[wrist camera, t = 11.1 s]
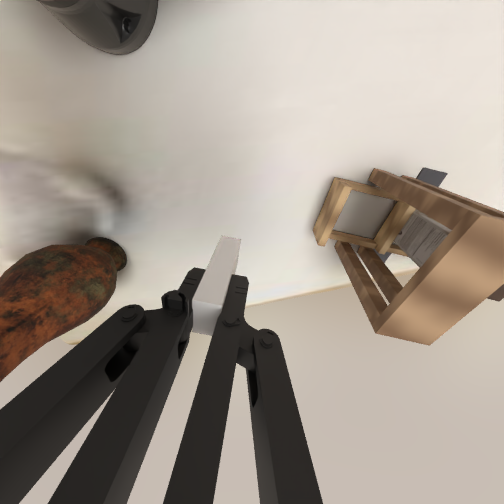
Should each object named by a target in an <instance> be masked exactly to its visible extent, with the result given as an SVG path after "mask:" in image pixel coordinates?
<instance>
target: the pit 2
mask: <svg viewBox="0 0 504 504" xmlns="http://www.w3.org/2000/svg"><path fill="white" fill-rule="evenodd" d="M447 174H448V173H444V172H440V171H436V170H432V169H427V168H423V169H422V170H421V172H420V174H419V175H418V177H417V178H416V179H418V180H421V181H423V182H426V183H428V184H431V185H434V186H436V187H438V186H439V185H440V184H441V182H442V181H443V179H444V178H445V177H446V175H447Z"/></svg>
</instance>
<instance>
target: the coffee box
mask: <svg viewBox="0 0 504 504" xmlns="http://www.w3.org/2000/svg"><path fill="white" fill-rule="evenodd" d="M451 231H452V230H450V229H449V228H447V227H445V226H444V225H442V224H440V223H439V222H437V221H435V220H434V219H432V218H430V217H429V216H427V215H425V214H424V213H422V212H420V211H419V210H417V209H415V211H414V212H413V214H412V215H411V217H410V218H409V219H408V221H407V222H406V224H405V225H404V227H403V228H402V230H401V231H400V233H399V234H398V235H397V237H396V238H395V240H394V242H395V243H396V244H397V245H398V246H399V247H400V248H401V249H402V250H403V251H404V252H405V253H406V254H407V255H408V256H409V257H410V258H411V259H412V260H413V261H414V262H415V263H416V264H417V265H418V266H419V267H421V266H422V265H423V264H424V263H425V262H426V260H427V259H428V258H429V257H430V256H431V254H432V253H433V252H434V251H435V250H436V249H437V247H438V246H439V245H440V244H441V243H442V241H443V240H444V239H445V238H446V237H447V236H448V234H449V233H450V232H451ZM487 298H488V299H491V300H495V301H500V300H502V299H503V298H504V284H503V285H502V286H501V287H499V288H498V289H497V290H496V291H495V292H493V293H492V294H491V295H490V296H489V297H487Z"/></svg>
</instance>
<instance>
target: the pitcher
mask: <svg viewBox="0 0 504 504" xmlns="http://www.w3.org/2000/svg"><path fill="white" fill-rule="evenodd" d="M126 261H127V258H126V254H125V252H124V250H123V249H122V248H121V247H120V246H119V245H118V244H117V243H115V242H113V241H111V240H109V239H106V238H101V237H98V238H93V239H91V240H89V241H88V242H87V243H86V244H85V246H84V245H50V246H47V247H44V248H42V249H39V250H37V251H34V252H31V253H29V254H26V255H25V256H24V257H22V258H21V259H20V260H19V261H17V262H16V263H15V264H14V265H12V266H11V267H10V268H9V269H8V270H6V271H5V272H4V273H3V275H2V276H1V277H0V382H1V381H2V380H3V379H4V378H5V377H6V376H7V375H8V374H9V373H10V372H11V371H13V370H14V369H15V368H16V367H17V366H18V365H19V364H20V363H21V362H22V361H24V360H25V359H26V358H27V357H29V356H30V355H31V354H33V353H34V352H35V351H37V350H38V349H39V348H40V347H42V346H43V345H44V344H46V343H47V342H49V341H51V340H53V339H54V338H56V337H59V336H60V335H62V334H64V333H66V332H68V331H70V330H72V329H74V328H75V327H77V326H79V325H81V324H83V323H85V322H86V321H88V320H89V319H91V318H92V317H93V316H94V315H95V314H97V313H98V312H99V311H100V310H102V308H103V307H104V306H105V305H106V304H107V302H108V301H109V299H110V298H111V296H112V295H113V293H114V291H115V288H116V278H117V271H120V270H121V269H123V268H124V267H125V265H126Z"/></svg>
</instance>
